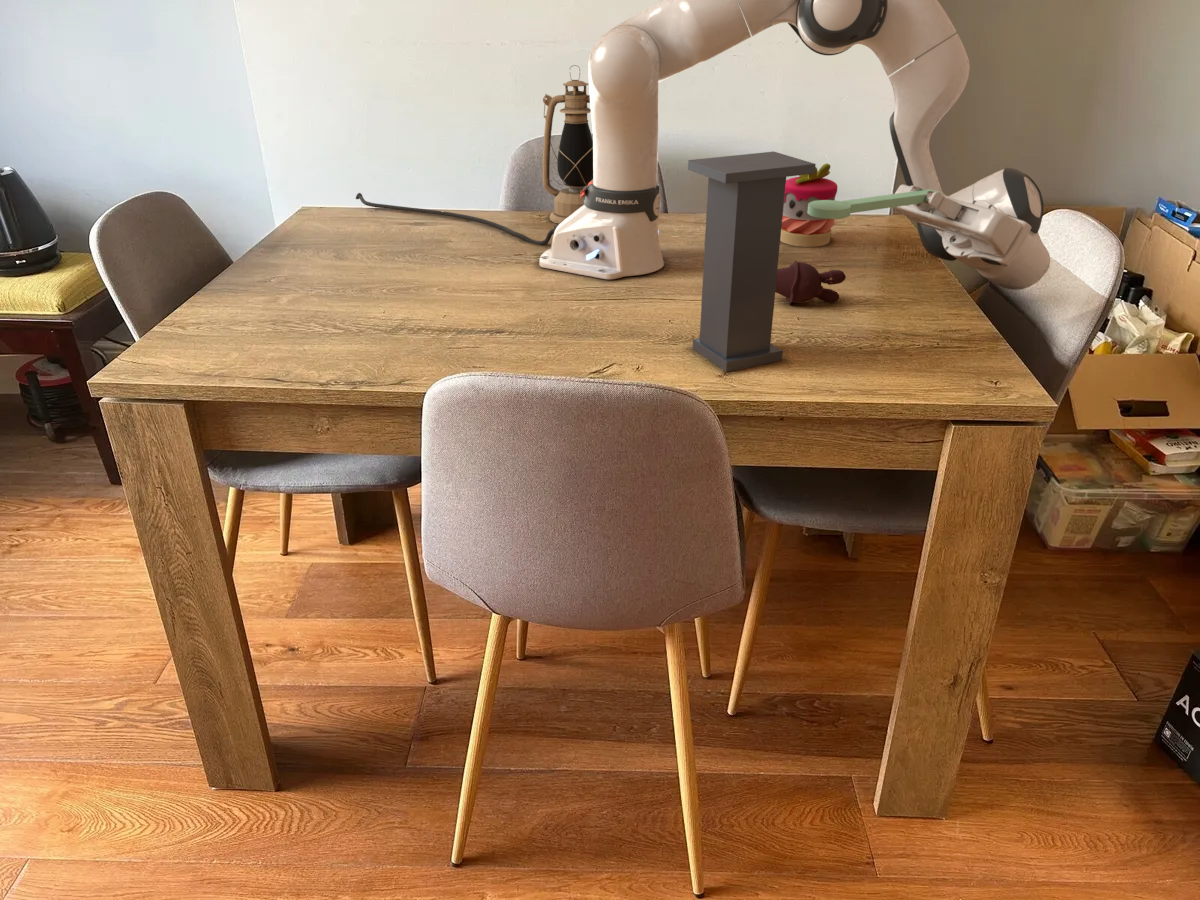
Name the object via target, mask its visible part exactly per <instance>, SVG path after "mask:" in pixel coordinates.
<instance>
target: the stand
mask: <svg viewBox="0 0 1200 900" xmlns="http://www.w3.org/2000/svg"><path fill="white" fill-rule="evenodd" d="M816 165H817V164H816V163H814V162H811V161H807V160H805V159H801V158H798V157H793V156H791V155H788V154H783V153H780V152H778V151H773V150H772V151H765V152H755V153H746V154H736V155H735V154H734V155H725V156H717V157H716V156H715V157H706V158H694V159H688V160H687V170H688V171H690V172H693V173H696V174H699V175H701V176H703V177H706V178H707V197H706V213H705V214H706V216H705V230H704V231H705V233H704V252H703V268H702V269H703V270H702V288H701V309H700V324H699V337H697V338H692V350H693V351H695V352H697V353H698V354H699V355H701V356H702V357H704V358H705V359H707V360H708V361H710V362H711V363H712V364H713V365H715V366H717V367H718V368H720V370H723V371H724V372H726V373H729V372H733V371H737V370H738V371H739V370H743V369H747V368H754V367H757V366H763V365H767V364H772V363H777V362H781V361H783V356H784V355H783V354H784V350H783V349H781V348H779V347H778V346H776V345H774V344H773V343H771V341H772V331H773V321H774V310H775V299H776V292H775V290H776V280H777V269H779V258H780V247H781V241H780V238H781V227H782V217H783V207H784V196H785V186H786V180H787V177H788V178H789V177H794V176H795V177H799V175H806V174H814V173H815V167H816Z"/></svg>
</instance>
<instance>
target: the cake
mask: <svg viewBox="0 0 1200 900" xmlns="http://www.w3.org/2000/svg"><path fill="white" fill-rule="evenodd" d="M830 169H831V164H830V163H828V162H827V163H824V164H823V165H821V167H820V168H819V169H818V167H816V166H815V173H814V174H806V175H798V176H795V177H790V178H788V179H786V186H785V196H784V207H783V217H782V227H781V238H780V243H783V244H786V245H790V246H794V247H803V248H804V247H807V248H812V247H821V246H825V245H828V244H829V243H830V241H831V234H832V228H833V226H835V220H836V219H822V218H816V217H813V216H810V215H809V214H808V213H807V211H808V204H809V203H810V202H812V201H818V200H835V201H836V196H837V193H838V188H839V187H838V184H837V182H835V181H834V180H831V179H829V178H826V177H827V176H828V175H830V173H831V171H830Z"/></svg>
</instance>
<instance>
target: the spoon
mask: <svg viewBox="0 0 1200 900" xmlns="http://www.w3.org/2000/svg"><path fill="white" fill-rule="evenodd" d="M928 191H934V192H938V191H935V190H931V189H927V190H920V191H913V192H905V193H898V194H895V193H892V194H884V195H876V196H869V197H862V198H860V197H859V198H852V199H847V200H836V199H835V200H818V201H812V202H810V203H809V204H808V211H807V213H808V214H809V215H810V216H813V217H816V218H822V219H835V220H842V219H846V218H848V217H850V216H851V214H854V213H862V212H868V211H869V212H871V211H876V210H883V209H890V208H891V209H892V207H898V206H905V205H912V204H919V203H924V198H925V196H927V193H928ZM938 193H939V194H941V192H938Z"/></svg>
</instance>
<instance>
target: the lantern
mask: <svg viewBox="0 0 1200 900" xmlns="http://www.w3.org/2000/svg"><path fill="white" fill-rule="evenodd" d="M573 67H578V69H579V71H581V68H580V66H578V65H576V64H573V65H571V66H570V67H569V69H571V68H573ZM578 74H579V75H578V79H572V76H571V73H569V77H570V79H571V80H568V81H566V82H563V83H562V85H563V86H564V94H559V95H554V96H551V95H549V94H547V93H545V94H544V96H543V98H542V102H543V104H544V108H543V118H544V119H545V121H544V123H545V124H544V132H543V148H542V150H543V151H542V184H543V185H542V186H543V188H544V190H545V191H546V192H547V193H549V194H550V195H552V196H554V198H553V201H554V203H553V204H554V205H553V206H554V208H553V209H554V210H553V211H551V213H550V215H549V220H550V221H551V222H552V223H556V224H560V223H562V222H563V221H564V220H565V219H566V218H568V217H569V216H570V215H571V214H573V213H574V212H575V211H576V210H578V209H579V208H580V207H582V206H583V205H584V200H583V198H580V196H581V194H582V193H580V192H581V191H583V188H585V187H586V186H588V184H589V182H591V181H593V135H592V130H591V129H590V125H589V120H588V114H589V113H590V114H591V108H590V107H588V104H590V94H588V93H587V86H589V82H585V81H582V80H579V79H580V78H581V72H579V73H578ZM568 87H572V90H569V89H568ZM579 87H583V90H579ZM561 103H563V104H564V108H561V109H559V113H561V114H564V120H563V123H564V124H563V128H562V132H561V135H560V141H559V145H558V146H557V149H558V152H557V155H556V152H555V150H554V147H553V145H552V142H551V140H552V131H553V130H552V129H553V122H554V114H555V109H556V106H557V105H558V104H561ZM546 107H547V109H546ZM551 150H552V152H553V154H554V156H555V159H556V160H557V161H556V163H557V164H556V165H557V166H556V167H557V173H558V176H559V178H560V180H562V182H563V183H562V184H563V186H565V187H564V188H561V189H560V190H559V189H557V188H555V187H553V186H552V185H551V179H550V159H551ZM556 183H557V184H558V185H559V186H562V184H561V183H559V181H558V180H556Z"/></svg>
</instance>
